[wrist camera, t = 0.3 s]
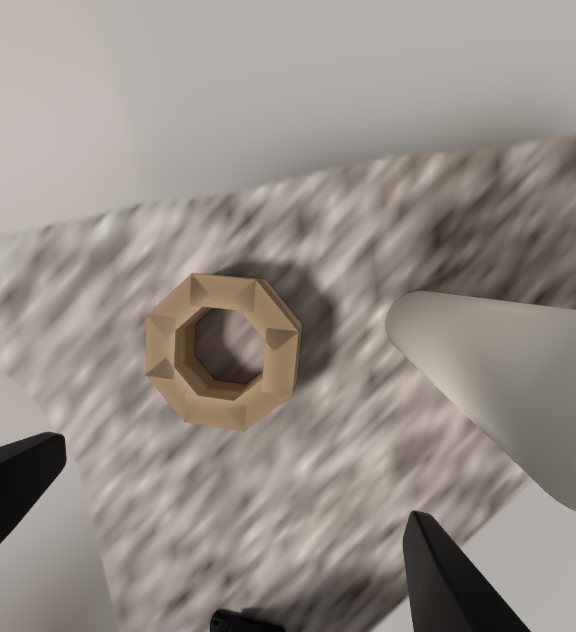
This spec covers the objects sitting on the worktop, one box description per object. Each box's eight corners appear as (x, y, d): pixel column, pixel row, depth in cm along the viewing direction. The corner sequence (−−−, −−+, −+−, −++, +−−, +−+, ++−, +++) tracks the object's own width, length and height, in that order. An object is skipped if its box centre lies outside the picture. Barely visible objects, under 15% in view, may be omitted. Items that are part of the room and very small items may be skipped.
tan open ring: (293, 416, 22) (288, 438, 19) (167, 398, 23) (144, 416, 20) (306, 283, 20) (303, 283, 18) (171, 270, 22) (147, 269, 19)
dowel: (448, 359, 20) (725, 540, 6) (381, 351, 20) (499, 503, 7) (459, 294, 19) (796, 333, 6) (390, 287, 20) (541, 309, 6)
